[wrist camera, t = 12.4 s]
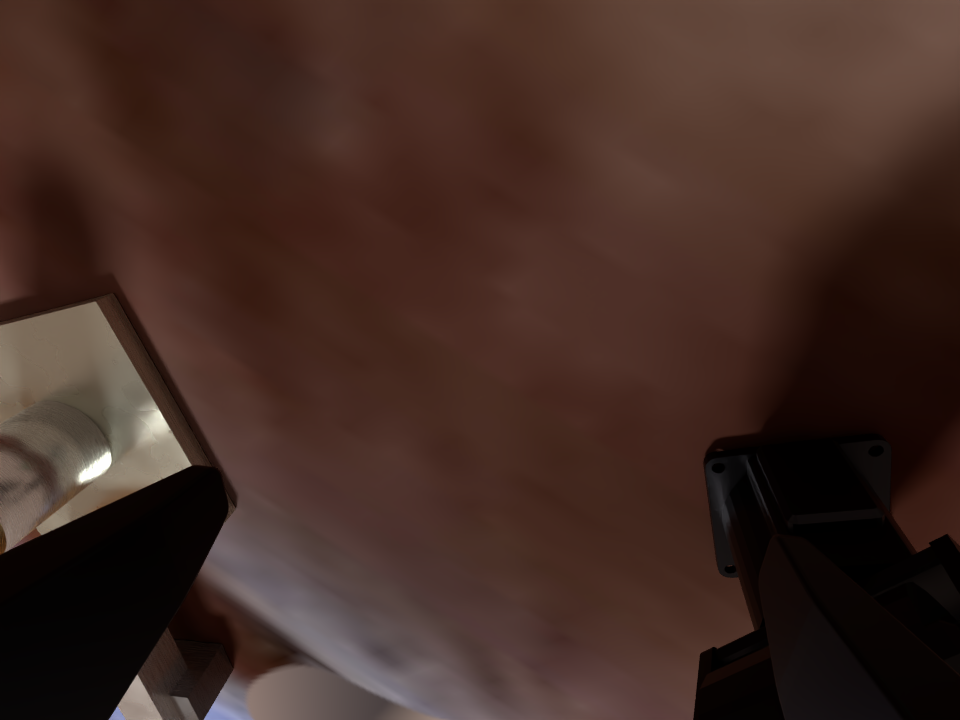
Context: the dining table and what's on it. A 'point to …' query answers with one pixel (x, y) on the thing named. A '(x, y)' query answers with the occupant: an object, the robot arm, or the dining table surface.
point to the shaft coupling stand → (116, 460)
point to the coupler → (45, 465)
